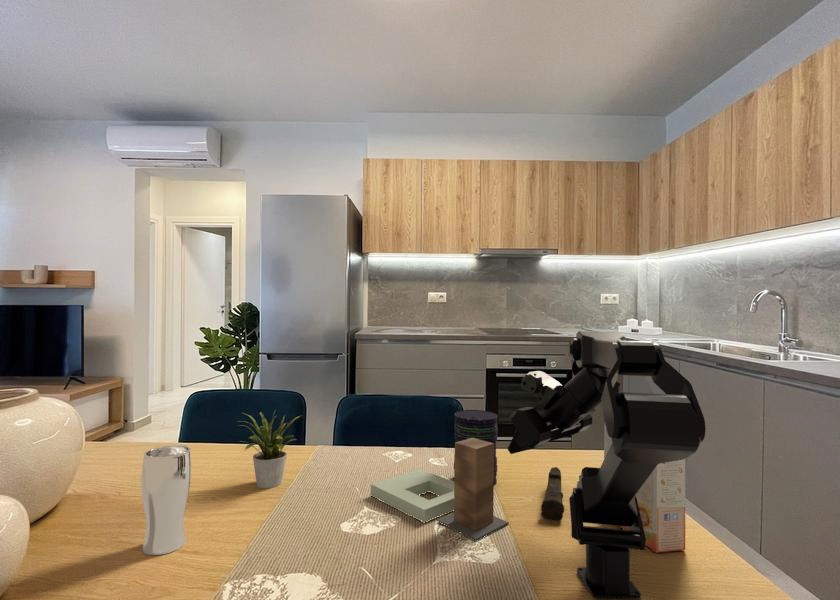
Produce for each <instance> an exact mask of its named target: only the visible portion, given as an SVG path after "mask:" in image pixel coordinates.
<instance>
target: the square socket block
mask: <svg viewBox="0 0 840 600" xmlns="http://www.w3.org/2000/svg"><path fill="white" fill-rule="evenodd" d="M427 491H431V492H433V493H435V494H437V495H439V496H436V497H434V498H431V499H427V498H425V497H423V496H422V495H421V496H419V494H422V493H425V492H427ZM371 495H372V496H374V497H376V498H378V499H380V500H382V501H384V502H385V503H388V504H389V505H391V506H393V507H395V508H397V509H399V510H401V511H403V512H405V513H407V514H409V515H412V516H414V517H416V518H418V519H420V520H422V521H423V522H426V521H428V520H430V519H432V518H435V517H437V516H440V515H442V514H445V513H448V512H451V511H453V510H454V480H451V479H447V478H445V477H442V476H440V475H438V474H435V473H433V472H429V471H427V470H424V469H422V468H418V469H416V470H413V471H412V470H411V471H409V472H406V473H403V474H399V475H395V476H393V477H390V478H387V479H384V480H380V481H376V482H373V483H371V484H370V496H371ZM451 513H452V512H451Z"/></svg>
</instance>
